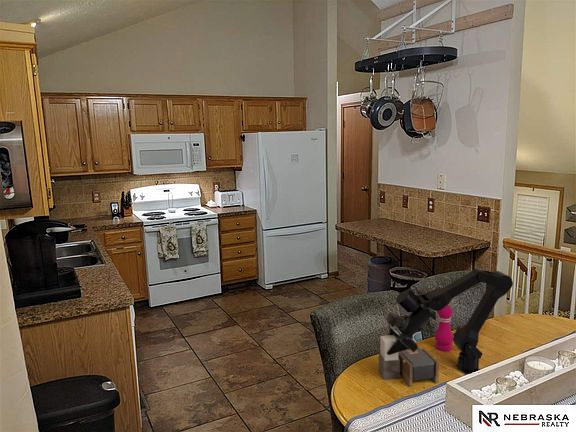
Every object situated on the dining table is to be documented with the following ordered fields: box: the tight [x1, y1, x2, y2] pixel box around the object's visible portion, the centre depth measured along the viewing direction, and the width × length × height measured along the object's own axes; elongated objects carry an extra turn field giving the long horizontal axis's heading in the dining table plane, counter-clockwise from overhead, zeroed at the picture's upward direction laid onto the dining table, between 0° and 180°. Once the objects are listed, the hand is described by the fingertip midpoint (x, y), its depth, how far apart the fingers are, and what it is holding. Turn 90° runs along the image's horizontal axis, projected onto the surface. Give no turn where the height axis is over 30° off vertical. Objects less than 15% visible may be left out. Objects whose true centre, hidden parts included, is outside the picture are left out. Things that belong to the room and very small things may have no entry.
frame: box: [398, 347, 440, 388], centre depth 161 cm, size 12×11×8 cm
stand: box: [378, 352, 401, 380], centre depth 164 cm, size 6×6×7 cm
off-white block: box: [379, 334, 398, 361], centre depth 163 cm, size 5×6×7 cm
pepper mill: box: [434, 304, 454, 352], centre depth 182 cm, size 7×7×20 cm
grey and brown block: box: [400, 346, 434, 381], centre depth 162 cm, size 8×12×6 cm, turn 10°
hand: (385, 350), depth 163 cm, fingers closed on off-white block, 5 cm apart
